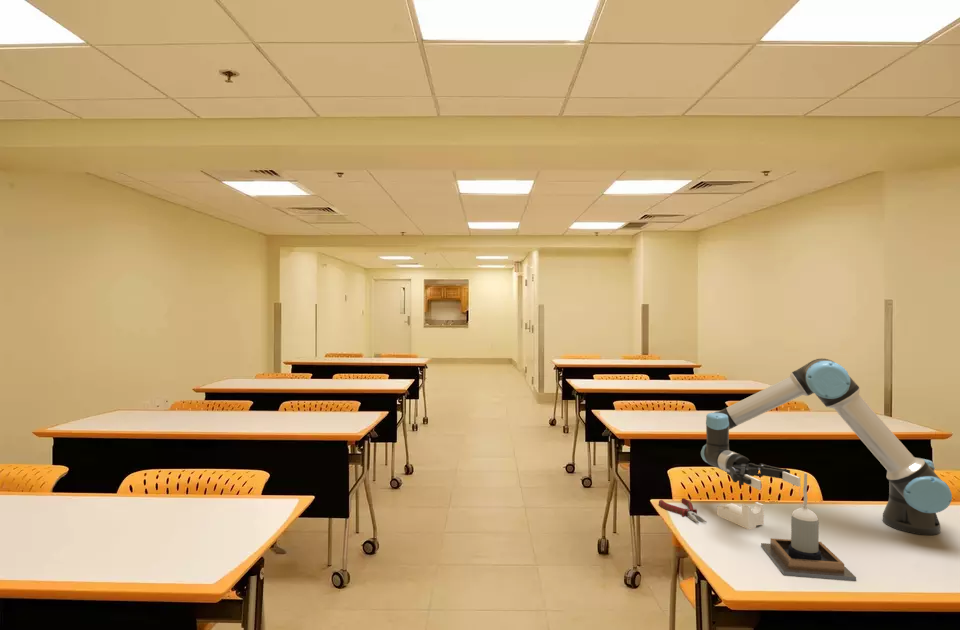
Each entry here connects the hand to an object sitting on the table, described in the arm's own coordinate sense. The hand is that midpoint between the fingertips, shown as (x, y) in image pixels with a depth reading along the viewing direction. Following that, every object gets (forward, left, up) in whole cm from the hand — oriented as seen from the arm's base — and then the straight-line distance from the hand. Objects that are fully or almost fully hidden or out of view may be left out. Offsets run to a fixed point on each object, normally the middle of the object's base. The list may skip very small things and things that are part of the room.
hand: (779, 483), depth 162 cm
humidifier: (-3, +9, -19) cm, 21 cm away
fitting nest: (-4, +9, -20) cm, 22 cm away
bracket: (+6, -20, -20) cm, 29 cm away
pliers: (+24, -24, -20) cm, 40 cm away
